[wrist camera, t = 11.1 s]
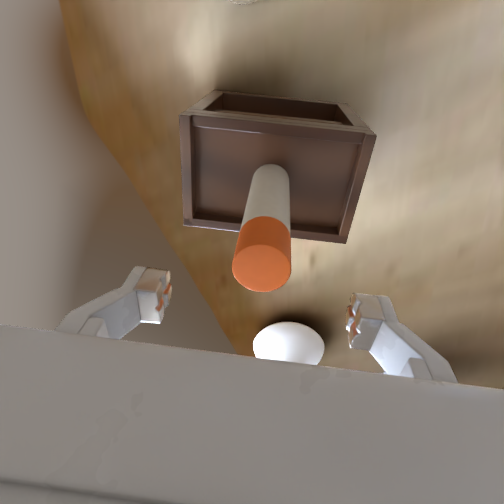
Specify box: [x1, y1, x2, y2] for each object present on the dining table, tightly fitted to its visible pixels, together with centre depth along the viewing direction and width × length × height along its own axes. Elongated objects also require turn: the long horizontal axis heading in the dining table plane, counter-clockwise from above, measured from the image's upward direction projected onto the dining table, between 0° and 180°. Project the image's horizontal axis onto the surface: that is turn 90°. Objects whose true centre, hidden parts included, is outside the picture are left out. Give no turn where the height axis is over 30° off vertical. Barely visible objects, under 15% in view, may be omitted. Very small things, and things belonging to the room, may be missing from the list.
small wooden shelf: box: [179, 90, 377, 244], centre depth 31 cm, size 9×14×13 cm, turn 86°
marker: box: [232, 164, 291, 292], centre depth 21 cm, size 3×3×12 cm
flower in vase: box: [253, 322, 324, 365], centre depth 44 cm, size 13×11×25 cm
